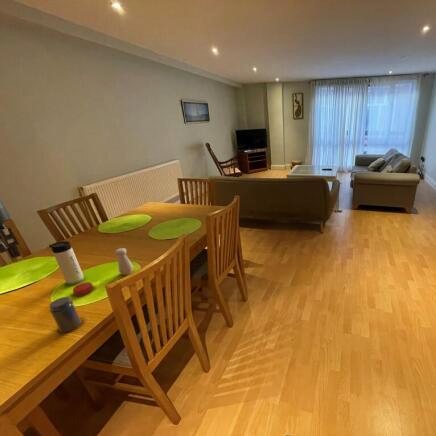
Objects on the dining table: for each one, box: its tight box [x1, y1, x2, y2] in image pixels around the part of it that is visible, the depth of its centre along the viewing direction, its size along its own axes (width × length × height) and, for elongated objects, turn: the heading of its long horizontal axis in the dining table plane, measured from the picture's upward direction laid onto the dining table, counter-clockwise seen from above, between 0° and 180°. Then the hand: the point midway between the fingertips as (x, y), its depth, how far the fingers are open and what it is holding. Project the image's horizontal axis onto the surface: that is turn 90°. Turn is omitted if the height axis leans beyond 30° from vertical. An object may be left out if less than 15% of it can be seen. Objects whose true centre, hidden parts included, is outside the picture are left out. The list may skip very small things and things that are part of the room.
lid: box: [72, 281, 94, 297], centre depth 104 cm, size 6×6×2 cm
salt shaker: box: [114, 247, 134, 276], centre depth 114 cm, size 6×6×13 cm
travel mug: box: [48, 240, 85, 286], centre depth 107 cm, size 6×7×20 cm
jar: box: [49, 296, 82, 334], centre depth 85 cm, size 6×6×11 cm
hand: (9, 254), depth 79 cm, fingers open, 8 cm apart
